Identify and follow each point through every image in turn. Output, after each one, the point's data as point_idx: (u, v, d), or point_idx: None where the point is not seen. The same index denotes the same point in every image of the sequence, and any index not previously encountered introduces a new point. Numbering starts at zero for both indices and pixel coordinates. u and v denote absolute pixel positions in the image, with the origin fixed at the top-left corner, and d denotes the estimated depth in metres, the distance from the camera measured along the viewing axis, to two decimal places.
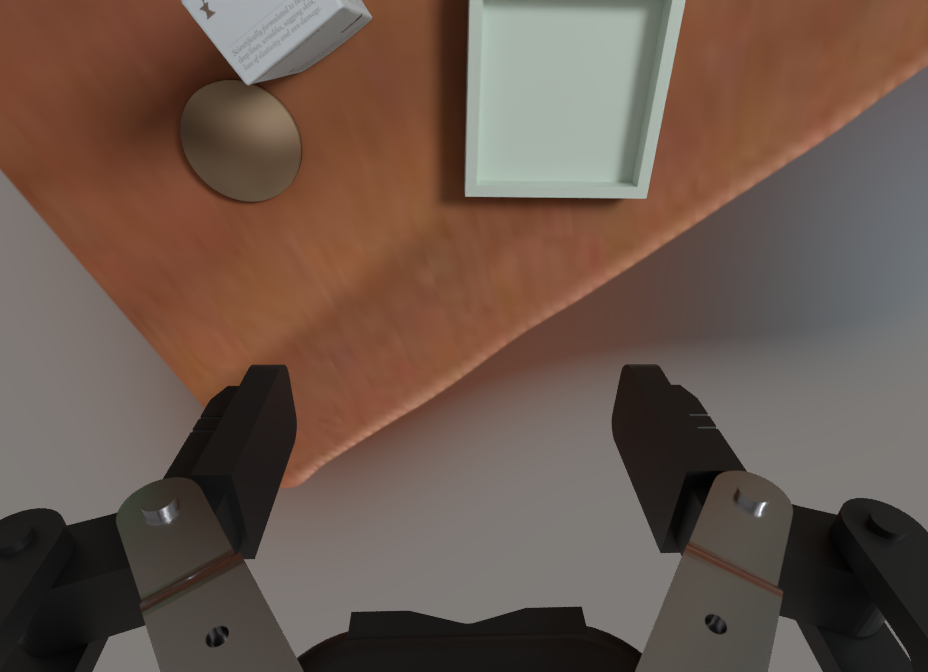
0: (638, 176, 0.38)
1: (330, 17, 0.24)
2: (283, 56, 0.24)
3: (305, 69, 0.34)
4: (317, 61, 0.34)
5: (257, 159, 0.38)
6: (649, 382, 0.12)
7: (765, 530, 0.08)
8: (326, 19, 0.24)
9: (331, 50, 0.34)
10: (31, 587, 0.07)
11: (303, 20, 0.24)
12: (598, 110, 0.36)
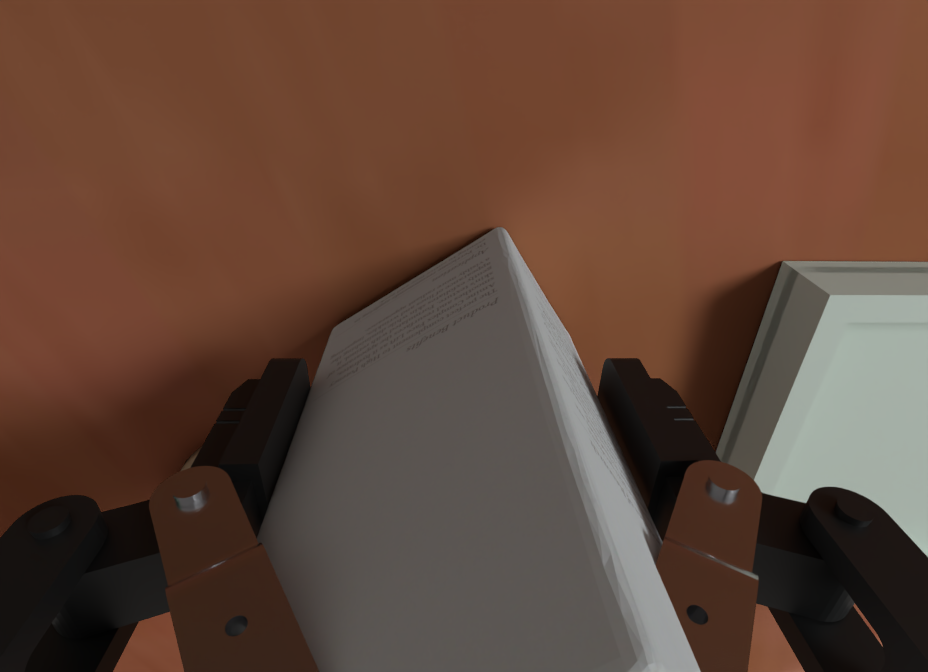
0: None
1: None
2: None
3: None
4: None
5: None
6: (629, 375, 0.12)
7: (734, 517, 0.08)
8: None
9: None
10: (65, 573, 0.07)
11: None
12: None
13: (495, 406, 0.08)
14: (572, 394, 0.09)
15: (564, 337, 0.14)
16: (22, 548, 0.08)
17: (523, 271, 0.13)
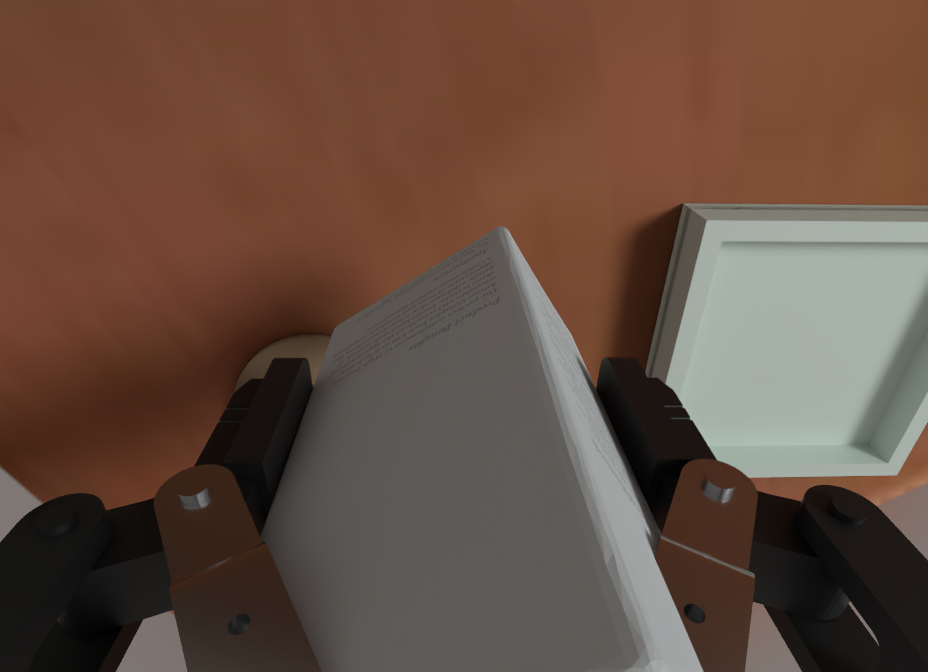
0: (891, 450, 0.26)
1: None
2: None
3: None
4: None
5: None
6: (626, 374, 0.12)
7: (729, 515, 0.08)
8: None
9: None
10: (70, 570, 0.07)
11: None
12: (844, 366, 0.25)
13: (497, 405, 0.08)
14: (574, 393, 0.09)
15: (566, 336, 0.14)
16: (28, 546, 0.08)
17: (525, 270, 0.13)
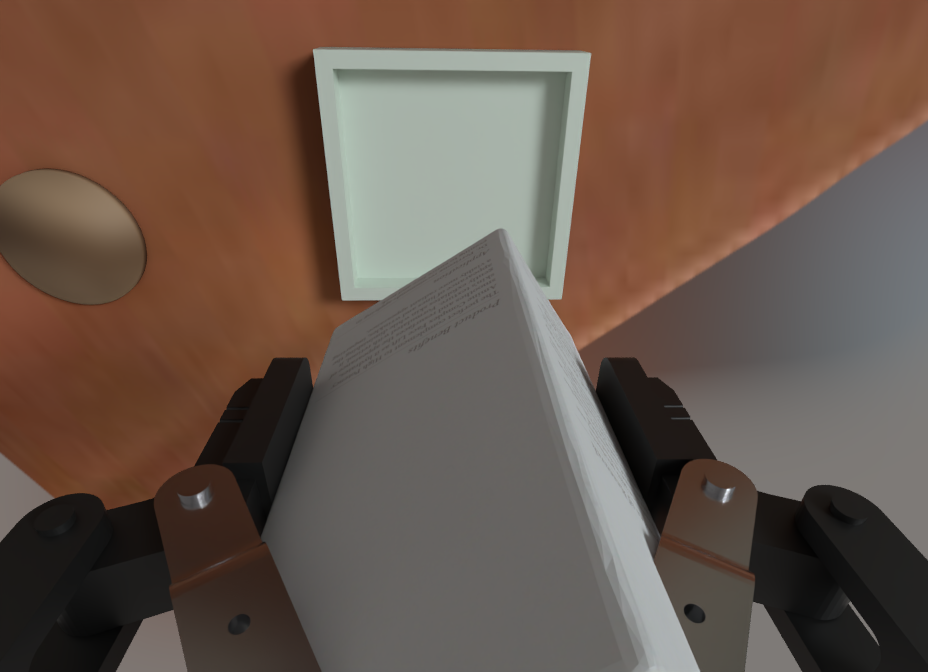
0: (550, 274, 0.31)
1: None
2: None
3: None
4: None
5: (90, 258, 0.31)
6: (626, 374, 0.12)
7: (729, 515, 0.08)
8: None
9: None
10: (70, 571, 0.07)
11: None
12: (497, 199, 0.30)
13: (497, 409, 0.08)
14: (573, 396, 0.09)
15: (565, 338, 0.14)
16: (28, 546, 0.08)
17: (524, 272, 0.13)
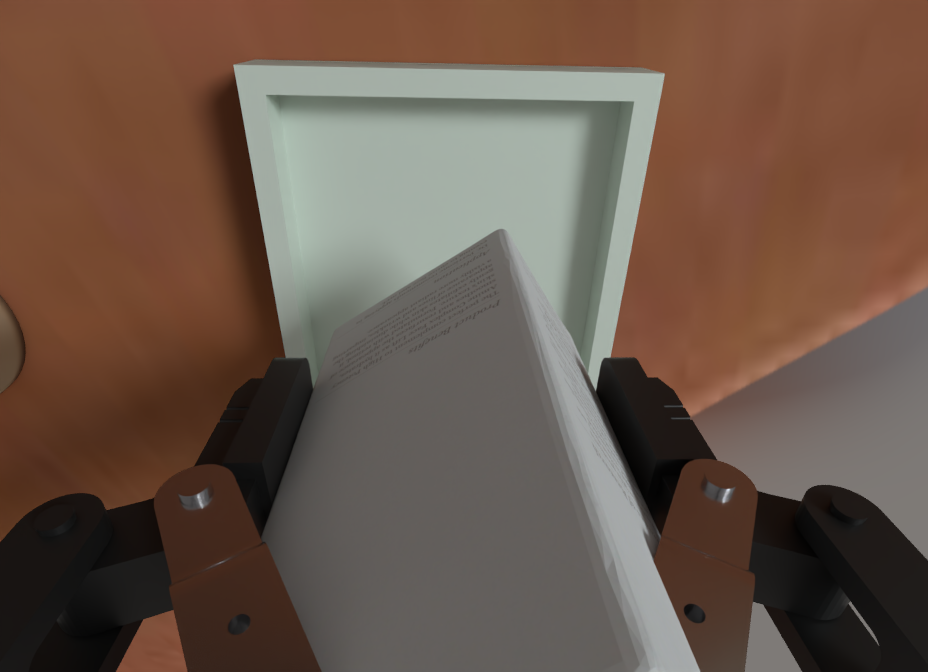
0: None
1: None
2: None
3: None
4: None
5: None
6: (626, 374, 0.12)
7: (729, 515, 0.08)
8: None
9: None
10: (70, 570, 0.07)
11: None
12: None
13: (497, 409, 0.08)
14: (574, 397, 0.09)
15: (566, 338, 0.14)
16: (28, 545, 0.08)
17: (525, 273, 0.13)
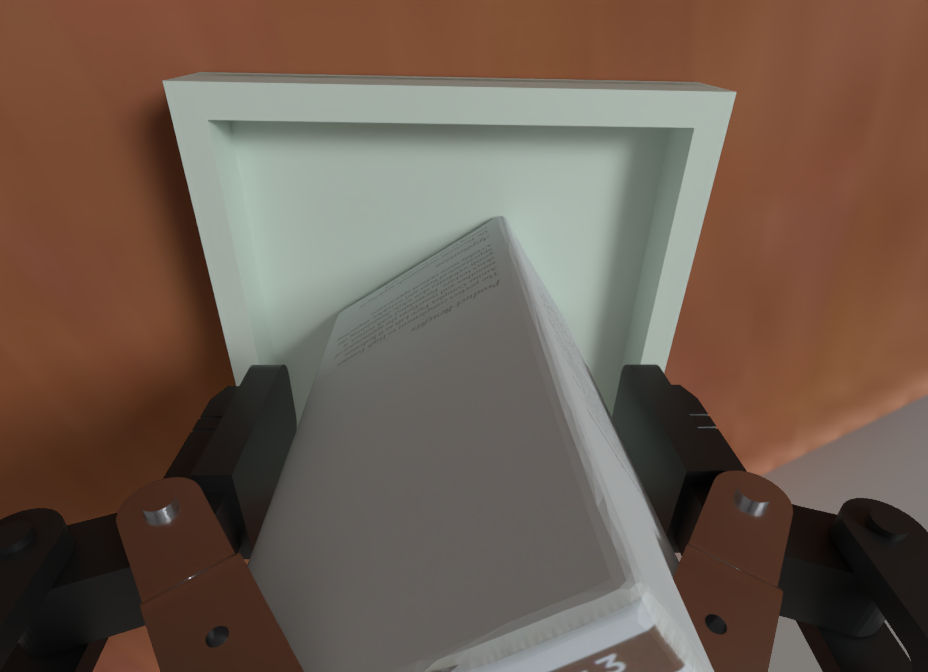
0: None
1: None
2: None
3: None
4: None
5: None
6: (649, 382, 0.12)
7: (765, 530, 0.08)
8: None
9: None
10: (31, 587, 0.07)
11: None
12: None
13: (497, 376, 0.09)
14: (569, 367, 0.09)
15: (562, 322, 0.14)
16: None
17: (523, 257, 0.13)
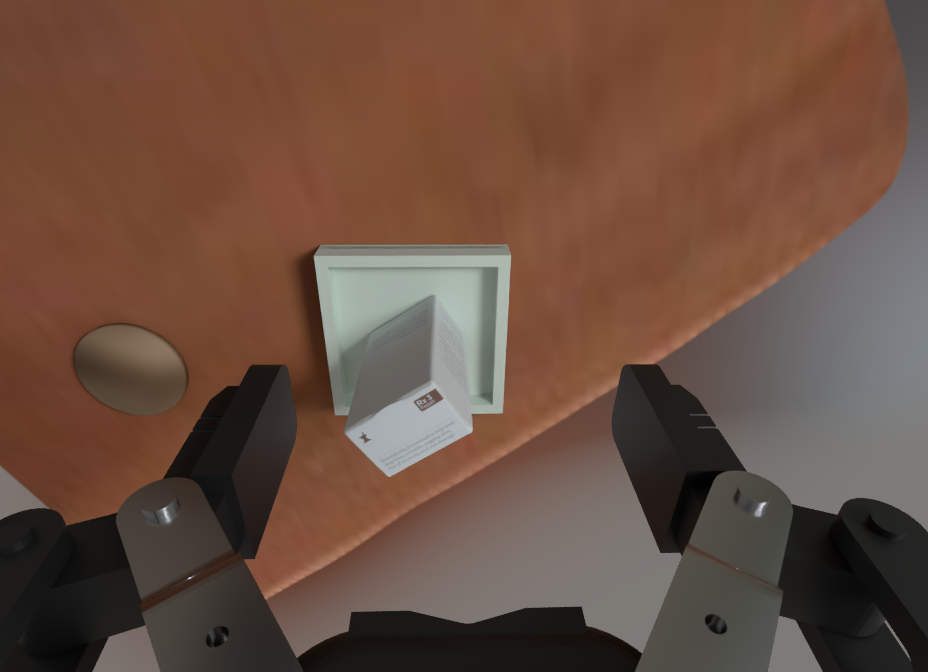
0: (492, 396, 0.41)
1: (461, 437, 0.29)
2: (420, 459, 0.30)
3: None
4: None
5: (146, 384, 0.41)
6: (649, 382, 0.12)
7: (765, 530, 0.08)
8: None
9: None
10: (31, 587, 0.07)
11: (440, 441, 0.29)
12: None
13: (419, 350, 0.32)
14: (441, 348, 0.32)
15: (457, 336, 0.37)
16: None
17: (439, 312, 0.36)
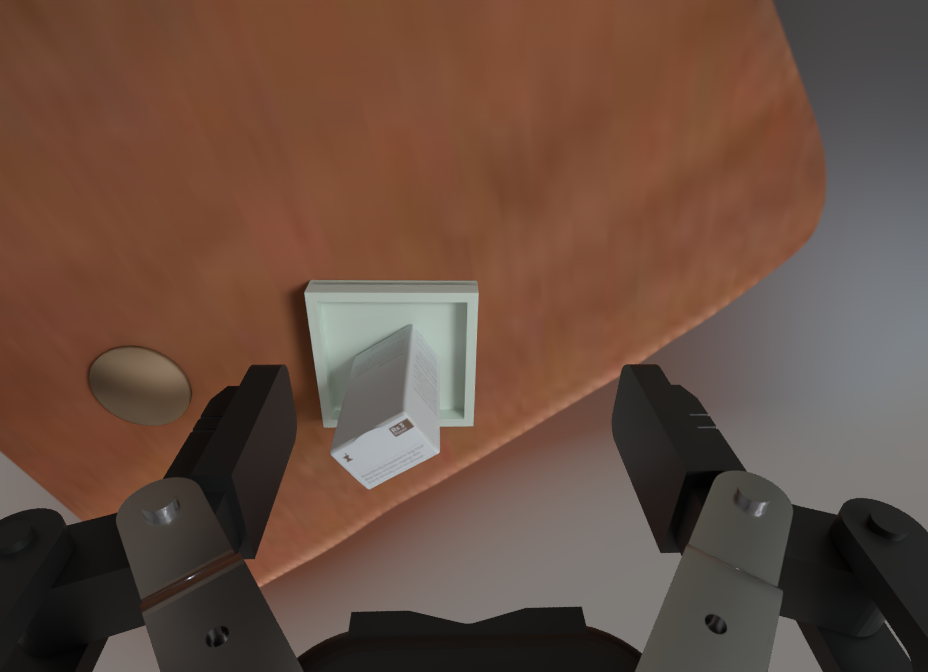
0: (464, 411, 0.46)
1: (430, 457, 0.35)
2: (395, 475, 0.35)
3: None
4: None
5: (154, 398, 0.46)
6: (649, 382, 0.12)
7: (765, 530, 0.08)
8: None
9: None
10: (31, 587, 0.07)
11: (411, 460, 0.35)
12: None
13: (395, 380, 0.37)
14: (415, 378, 0.37)
15: (431, 361, 0.42)
16: None
17: (415, 342, 0.41)
